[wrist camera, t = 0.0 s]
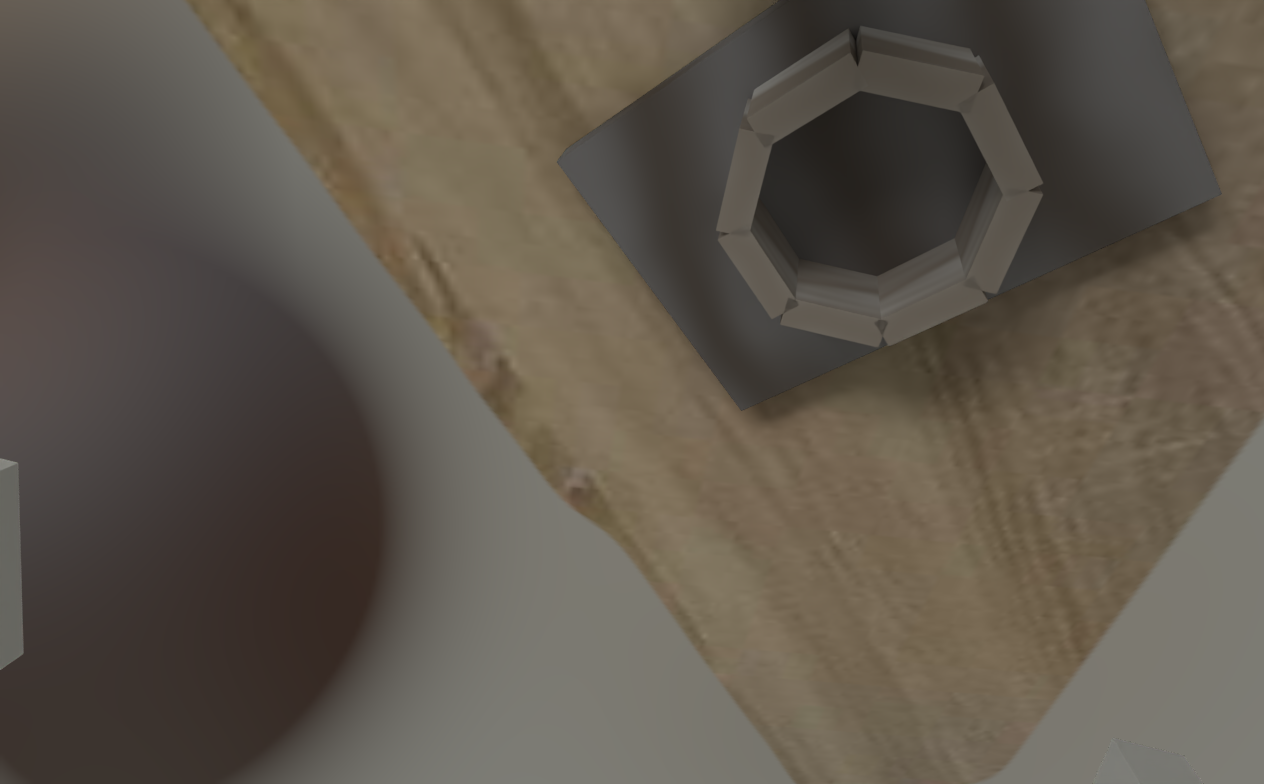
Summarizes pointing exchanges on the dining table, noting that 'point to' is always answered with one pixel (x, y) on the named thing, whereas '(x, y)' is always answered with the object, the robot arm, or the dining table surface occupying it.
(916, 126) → the socket stand
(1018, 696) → the dining table surface
